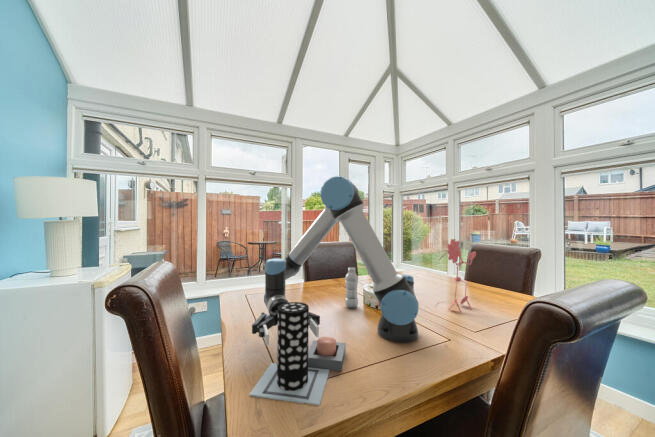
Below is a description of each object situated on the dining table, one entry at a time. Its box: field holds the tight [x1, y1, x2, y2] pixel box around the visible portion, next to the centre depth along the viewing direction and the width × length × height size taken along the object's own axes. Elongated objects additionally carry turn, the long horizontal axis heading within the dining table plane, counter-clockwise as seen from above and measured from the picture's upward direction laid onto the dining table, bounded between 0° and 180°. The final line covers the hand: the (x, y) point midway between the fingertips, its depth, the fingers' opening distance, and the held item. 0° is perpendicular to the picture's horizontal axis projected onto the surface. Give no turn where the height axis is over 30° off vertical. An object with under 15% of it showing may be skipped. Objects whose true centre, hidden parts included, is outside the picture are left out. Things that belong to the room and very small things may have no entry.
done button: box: [317, 336, 337, 357], centre depth 81 cm, size 6×6×4 cm
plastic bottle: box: [344, 266, 359, 309], centre depth 128 cm, size 6×7×20 cm
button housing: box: [308, 339, 347, 372], centre depth 81 cm, size 11×11×3 cm
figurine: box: [435, 238, 480, 313], centre depth 130 cm, size 15×26×35 cm, turn 123°
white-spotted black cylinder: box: [276, 301, 310, 391], centre depth 69 cm, size 8×8×20 cm
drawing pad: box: [249, 362, 331, 406], centre depth 69 cm, size 18×14×1 cm
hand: (293, 335), depth 68 cm, fingers open, 13 cm apart
